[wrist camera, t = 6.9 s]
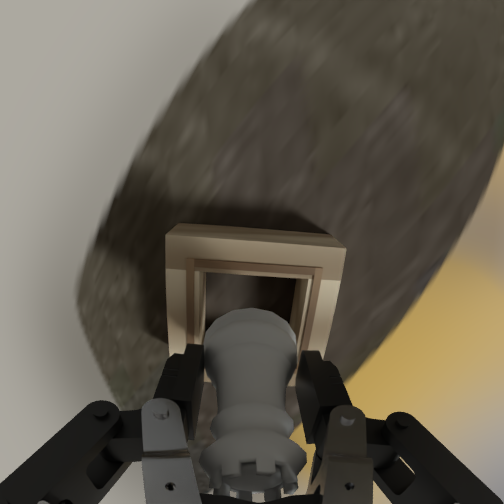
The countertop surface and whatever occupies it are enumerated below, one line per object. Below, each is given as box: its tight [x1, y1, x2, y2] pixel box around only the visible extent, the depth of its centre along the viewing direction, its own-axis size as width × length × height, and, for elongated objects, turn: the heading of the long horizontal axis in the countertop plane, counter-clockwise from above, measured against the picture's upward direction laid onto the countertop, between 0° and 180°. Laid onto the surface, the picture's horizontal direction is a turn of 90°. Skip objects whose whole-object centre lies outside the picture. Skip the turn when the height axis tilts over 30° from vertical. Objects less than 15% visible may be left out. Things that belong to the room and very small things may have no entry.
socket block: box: [165, 223, 346, 386], centre depth 17 cm, size 9×9×3 cm
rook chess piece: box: [199, 308, 307, 502], centre depth 10 cm, size 4×4×8 cm
